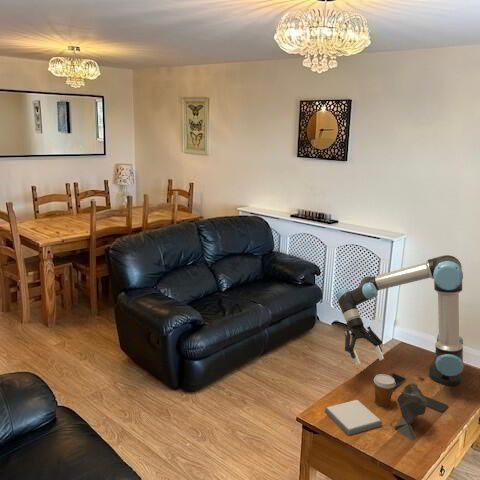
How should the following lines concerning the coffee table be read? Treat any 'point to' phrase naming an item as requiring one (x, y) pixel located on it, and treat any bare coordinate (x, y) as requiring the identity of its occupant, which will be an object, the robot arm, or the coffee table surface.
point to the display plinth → (353, 417)
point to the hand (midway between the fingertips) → (370, 362)
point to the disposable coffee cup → (383, 389)
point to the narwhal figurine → (410, 409)
